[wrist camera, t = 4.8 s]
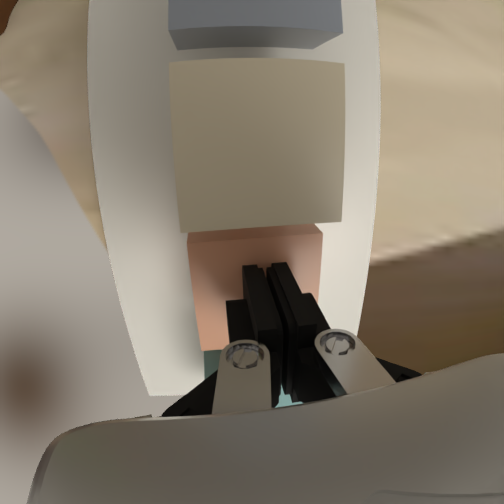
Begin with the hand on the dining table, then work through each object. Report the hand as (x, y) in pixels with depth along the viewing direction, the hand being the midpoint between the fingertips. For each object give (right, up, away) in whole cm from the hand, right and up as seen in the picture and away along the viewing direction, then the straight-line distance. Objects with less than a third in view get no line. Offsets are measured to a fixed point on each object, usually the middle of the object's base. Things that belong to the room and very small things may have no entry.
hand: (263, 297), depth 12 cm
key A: (-1, +13, -1) cm, 13 cm away
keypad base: (-1, +6, +5) cm, 8 cm away
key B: (-1, +7, +2) cm, 7 cm away
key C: (-1, +2, +5) cm, 6 cm away
